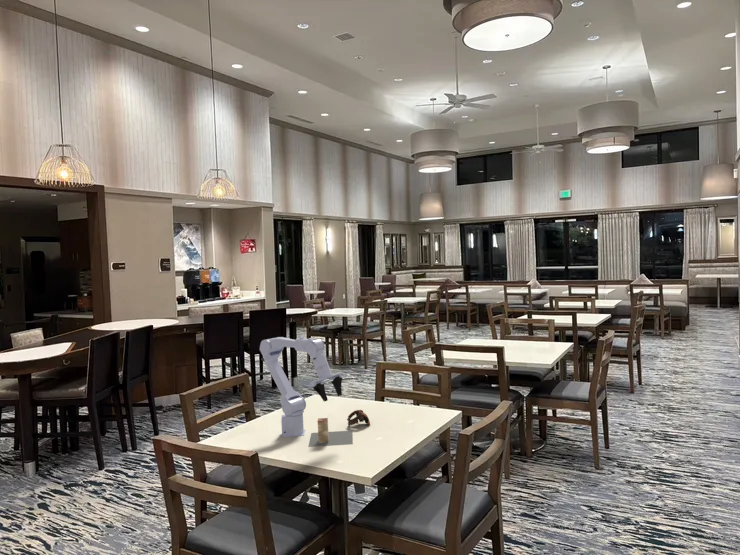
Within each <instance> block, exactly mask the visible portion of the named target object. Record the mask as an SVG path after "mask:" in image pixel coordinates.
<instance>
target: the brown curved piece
mask: <svg viewBox="0 0 740 555" xmlns="http://www.w3.org/2000/svg"><path fill="white" fill-rule="evenodd" d="M354 416H355V417H354ZM346 421H347V425H348V426H349V427H350V426H354V425H356V424H357V425H359V422H360V423H361V422H362V423H363V422H365V423H367V424H366V425H367V426H368V427H370V426H371V422H370V421H371V420H370V418H369V417H368V415H367V414H366V413H365V412H364V411H363V409H356V410H354V411H352V412H351V413H350V414H349V415H348V416H347V418H346Z"/></svg>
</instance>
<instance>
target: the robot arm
mask: <svg viewBox="0 0 740 555" xmlns="http://www.w3.org/2000/svg"><path fill="white" fill-rule="evenodd" d="M284 348H294V350H295V351H296V352H301V353H302V352H303V353H307V354H308V356H309V357H310V358H311V361H312V363H313V366H314V368H315V372H316V375H317V376H318V377H317V378H318V379H316V380H313V381H311V382H310V385H311V388H313V390H314V391H315V392H316V393H317V394H318V395H319V396H320V398H321V399H322V401H323V402H327V401H328V400H329V399H328V397H327V393H326V388H325V383H327V382H329V381H330V382H331V384H332V385H333V388H334V390H335V392H336V394H337V396H338V397H341V396H342V395H343V392H342V383H343V377H342V373H341V372H337V373H334V374H332V370H331V367H330V365H329V363H328V360H327V359H328V358H327V356H326V353H325V348H326V347H325V342H324V341H323V340H322V339H321V338H316V339H313V338H311V337H309V338H305V336H299V337H297V338H296V339H294V338H293V339H292V338H289V337H284V336H277V337H272V338H267V339H262V340H261V342H260V345H259V352H260V353H261V355H262V356H263V357H262V358H263V360H264V363H265V366H266V367H267V369H268V371H269V374H270V375H271V377H272V380H274V383H275V384H276V387H277V388H278V390H279V392H280V395H281V399H280V401H279V403H280V405H281V410H282V412H283V414H281V422H280V423H281V437H282V438H286V437H287V438H288V437H290V438H291V437H302V436H303V437H304V436H305V432H306V429H305V428H304V415H303V414H304V413H305V412H304V411H305V410H306V407H307V401H306V399H305V398H304V397H303V396H302V395H301V393H300V392H298V391H296V390H294V388H293V386H292V385H291V382H290V381H289V379H288V377H287V375H286V373H285V372H284V370H283V367H282V366H281V363H280V361H279V358H280V356H281V354H282V353H283V350H284Z"/></svg>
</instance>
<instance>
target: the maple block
mask: <svg viewBox="0 0 740 555" xmlns="http://www.w3.org/2000/svg"><path fill="white" fill-rule="evenodd" d="M316 422H317V433H318V439H319V443H326V442H329V433H328V432H329V418H328V417H320V418H317V421H316Z"/></svg>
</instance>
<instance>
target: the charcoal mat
mask: <svg viewBox="0 0 740 555" xmlns="http://www.w3.org/2000/svg"><path fill="white" fill-rule="evenodd" d="M328 433H329V442H326V443H319V439H318V432H311V434H310V437H309V443H308V446H307V447H308V448H313V447H330V446H344V445H348V446H349V445H353V439H354V438H353V436H354V435H353V430H340V431H339V430H337V431H328Z"/></svg>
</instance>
